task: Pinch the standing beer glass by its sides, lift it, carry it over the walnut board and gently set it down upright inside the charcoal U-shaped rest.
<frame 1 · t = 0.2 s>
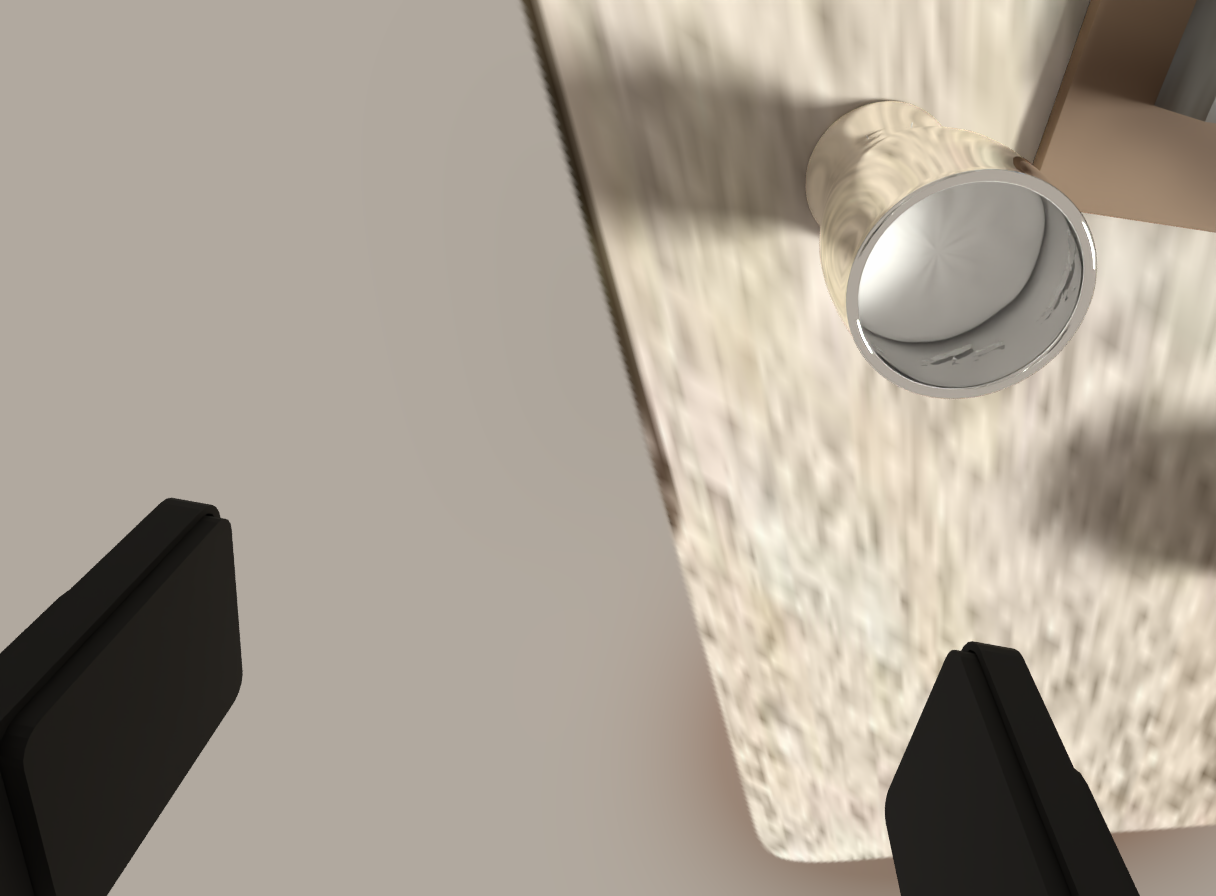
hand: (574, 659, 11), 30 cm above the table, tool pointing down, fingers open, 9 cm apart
beer glass: (877, 175, 37), on the table
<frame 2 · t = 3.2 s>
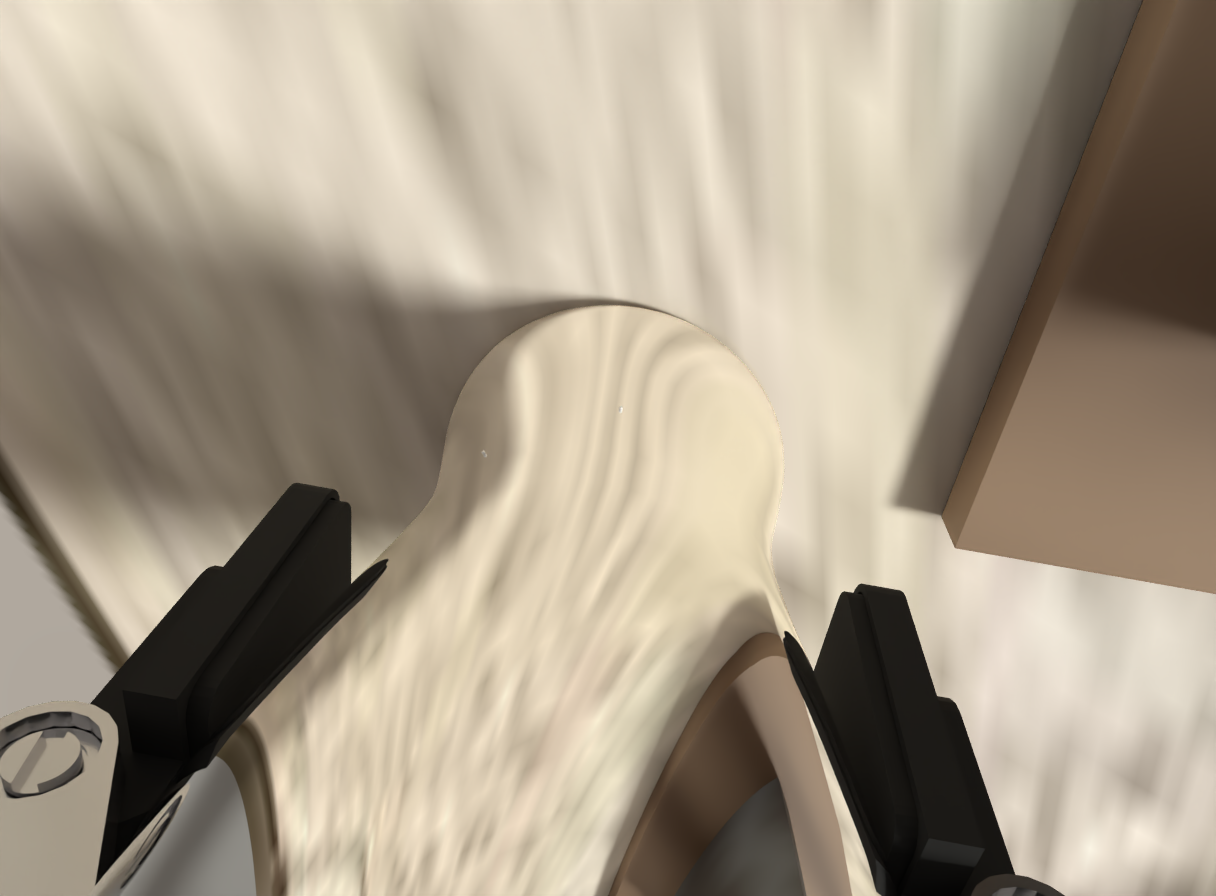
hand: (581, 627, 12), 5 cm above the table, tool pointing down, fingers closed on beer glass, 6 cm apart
beer glass: (615, 455, 16), on the table, touching gripper
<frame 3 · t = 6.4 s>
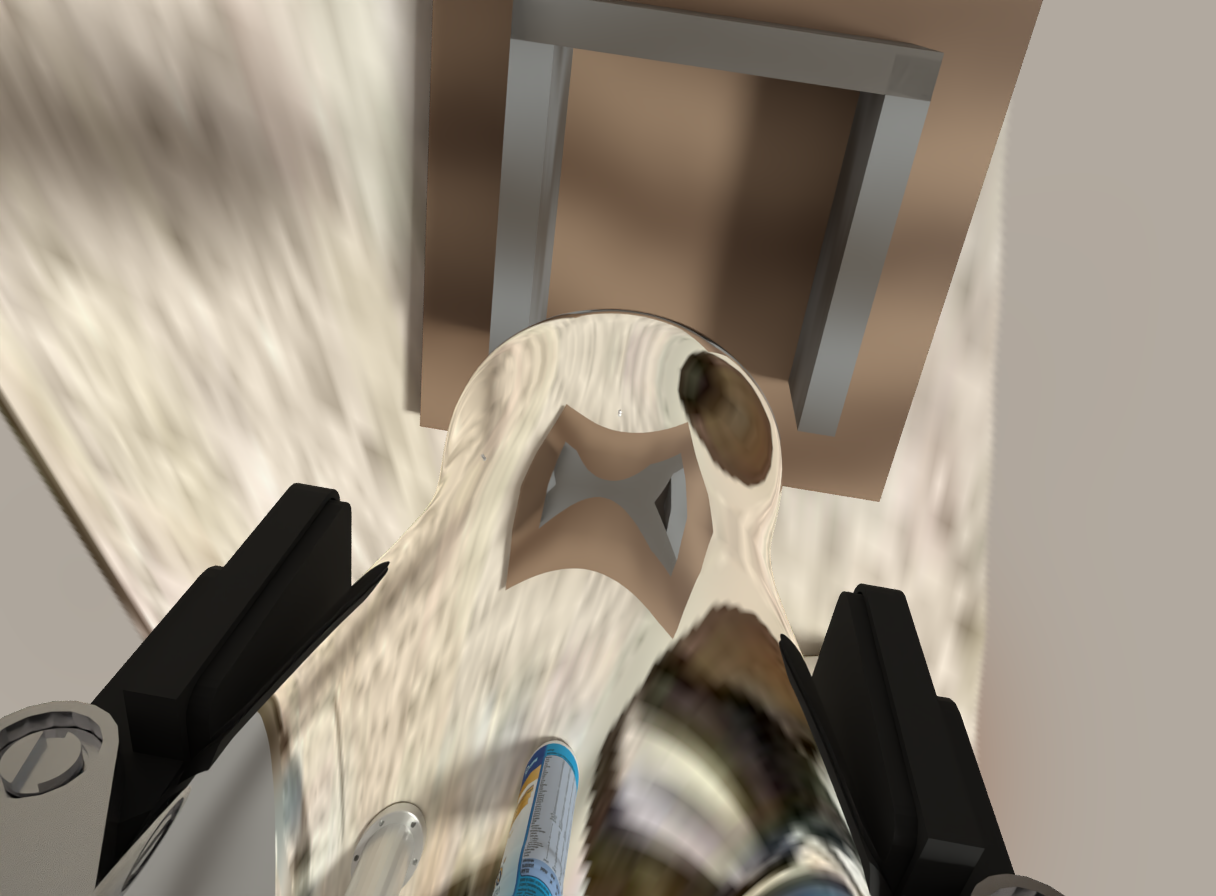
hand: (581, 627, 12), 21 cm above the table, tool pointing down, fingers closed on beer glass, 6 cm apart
u rest: (693, 198, 30), on the table
beer glass: (615, 458, 16), point 17 cm above the table, touching gripper
when the fingers open (7 cm above the table, at t = 9.8 s): beer glass drops 2 cm, resting on u rest.
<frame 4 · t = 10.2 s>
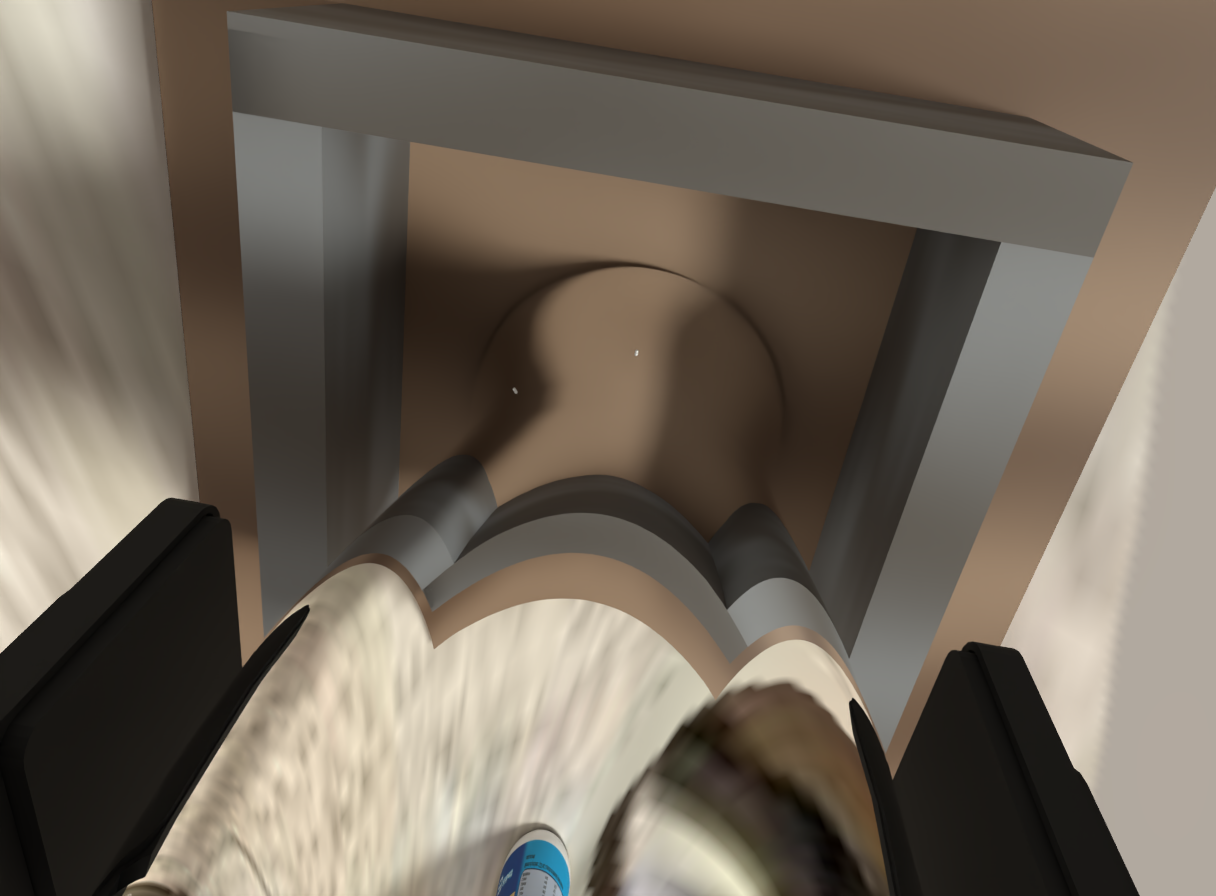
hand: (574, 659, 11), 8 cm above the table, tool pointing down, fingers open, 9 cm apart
u rest: (633, 355, 18), on the table
beer glass: (628, 408, 18), point 1 cm above the table, touching u rest
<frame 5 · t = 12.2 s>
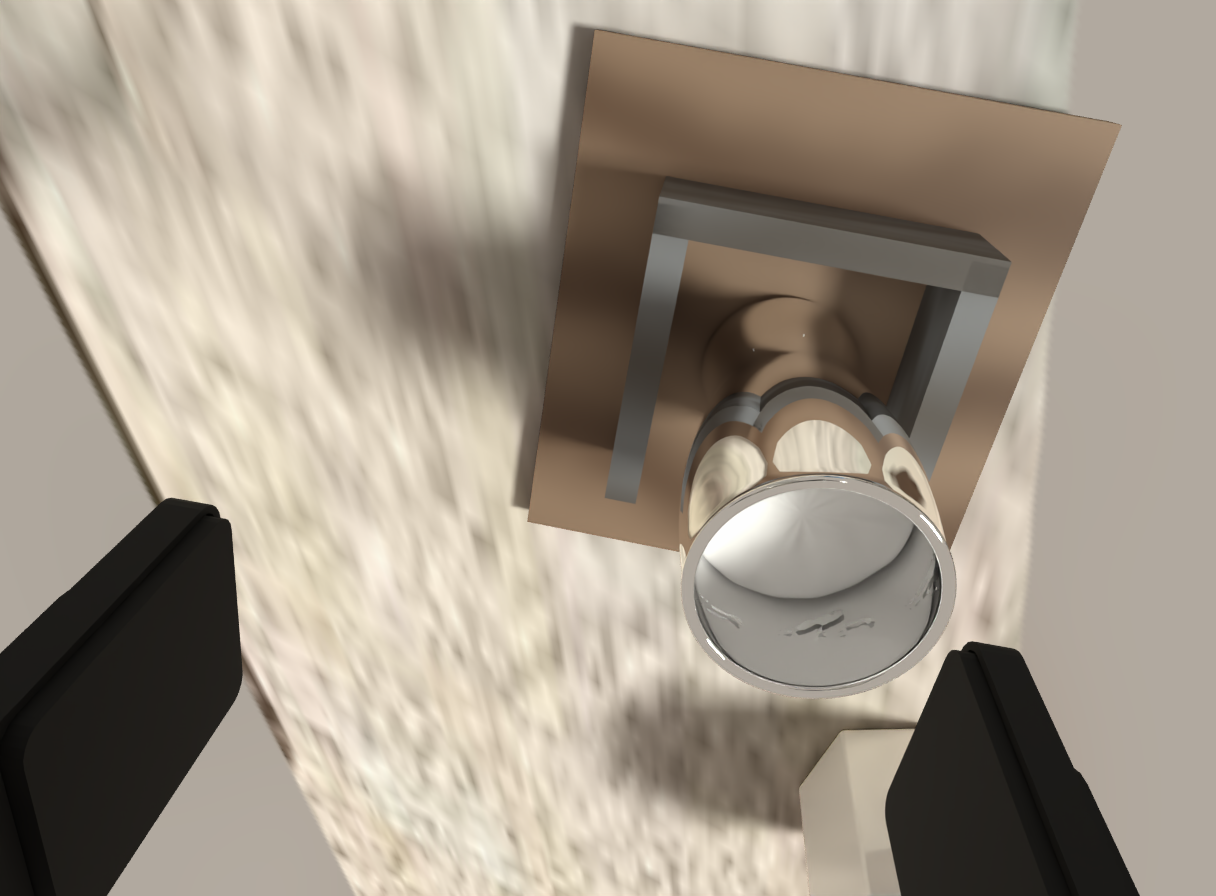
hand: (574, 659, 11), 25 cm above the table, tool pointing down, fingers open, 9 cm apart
u rest: (781, 342, 35), on the table
jar: (887, 781, 45), on the table
beer glass: (779, 369, 35), point 1 cm above the table, touching u rest
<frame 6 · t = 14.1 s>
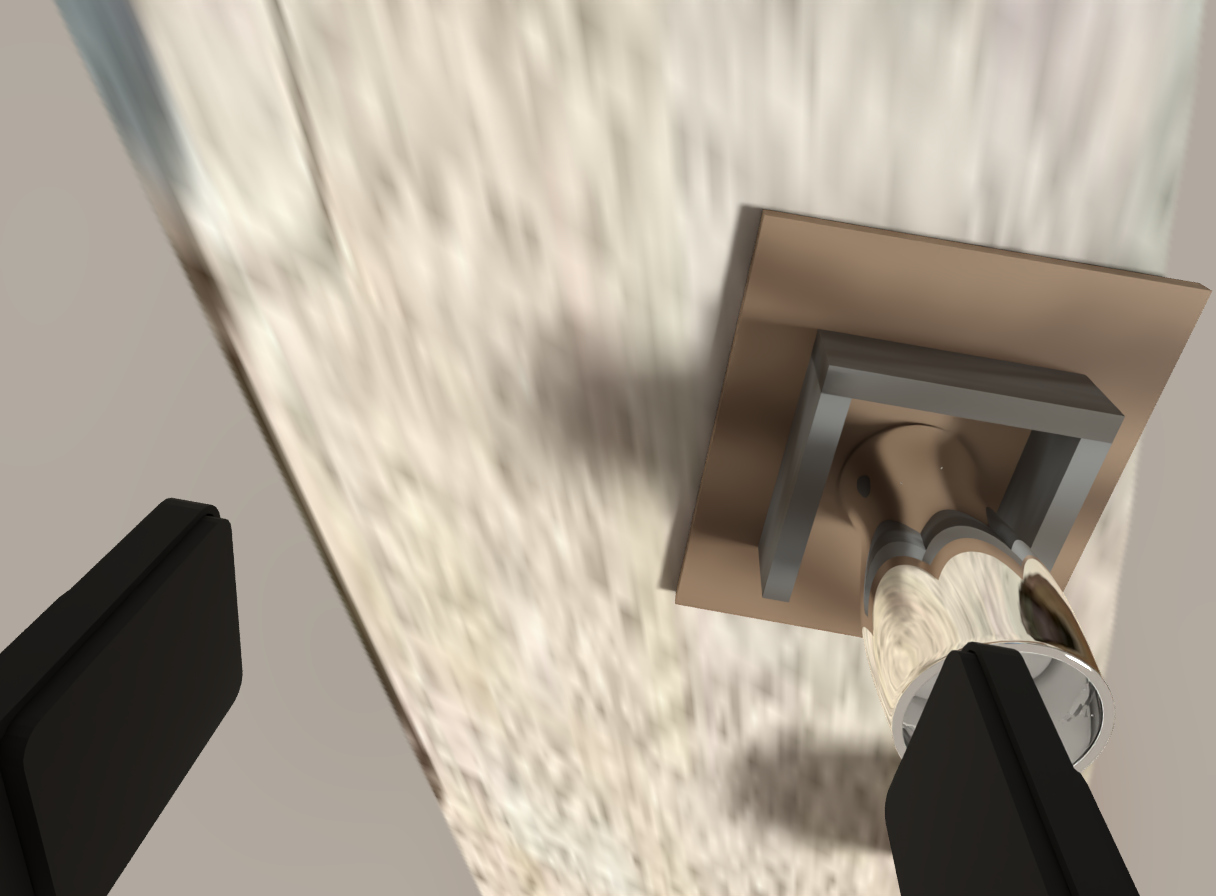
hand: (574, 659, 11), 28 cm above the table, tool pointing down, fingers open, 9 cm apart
u rest: (905, 456, 41), on the table
beer glass: (905, 480, 40), point 1 cm above the table, touching u rest
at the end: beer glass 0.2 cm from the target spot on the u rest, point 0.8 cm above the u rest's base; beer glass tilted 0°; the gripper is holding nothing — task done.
